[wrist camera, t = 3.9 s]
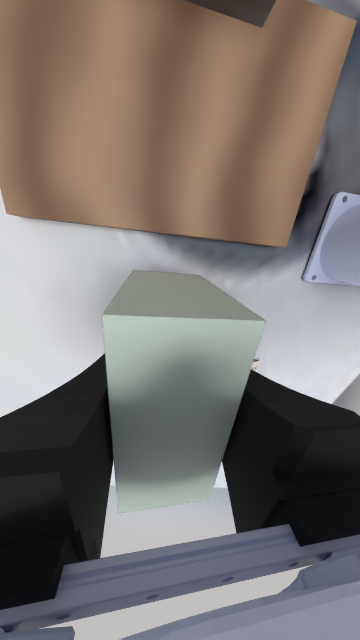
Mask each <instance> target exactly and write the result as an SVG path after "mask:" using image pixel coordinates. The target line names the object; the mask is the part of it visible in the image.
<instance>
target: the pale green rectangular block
mask: <svg viewBox="0 0 360 640" xmlns="http://www.w3.org/2000/svg"><path fill="white" fill-rule="evenodd" d="M102 321H103V333H104V345H105V358H106V370H107V382H108V395H109V407H110V420H111V432H112V444H113V457H114V469H115V481H116V492H117V506H118V513H125V512H132V511H139V510H146V509H153V508H160V507H166V506H173V505H181V504H188V503H194V502H201V501H208V500H209V499H210V496H211V493H212V490H213V487H214V484H215V481H216V477H217V474H218V471H219V468H220V465H221V462H222V459H223V455H224V452H225V449H226V446H227V443H228V440H229V436H230V433H231V430H232V427H233V424H234V421H235V417H236V414H237V411H238V408H239V405H240V402H241V399H242V395H243V392H244V389H245V386H246V383H247V380H248V376H249V373H250V370H251V367H252V364H253V361H254V358H255V354H256V351H257V348H258V345H259V342H260V339H261V335H262V332H263V329H264V326H265V323H266V321H265V320H264V319H263V318H261V317H260V316H258V315H257V314H255V313H254V312H252V311H251V310H249V309H248V308H247V307H245V306H244V305H242V304H241V303H239V302H238V301H236V300H235V299H234V298H232V297H231V296H229V295H228V294H226V293H225V292H223V291H222V290H221V289H219V288H218V287H216V286H215V285H213V284H212V283H210V282H209V281H207V280H206V279H205V278H203V277H202V276H200V275H189V274H177V273H164V272H152V271H139V270H133V272H132V273H131V275H130V276H129V277H128V279H127V280H126V282H125V283H124V284H123V286H122V287H121V289H120V290H119V292H118V293H117V294H116V296H115V297H114V299H113V300H112V301H111V303H110V304H109V306H108V307H107V309H106V310H105V311H104V313H103V314H102Z"/></svg>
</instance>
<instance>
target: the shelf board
mask: <svg viewBox="0 0 360 640" xmlns="http://www.w3.org/2000/svg"><path fill="white" fill-rule="evenodd" d="M356 22H357V21H356V20H354V19H351V18H349V17H346V16H343V15H341V14H338V13H336V12H333V11H331V10H328V9H326V8H323V7H321V6H318V5H316V4H313V3H311V2H308V1H306V0H0V189H1V193H2V197H3V201H4V205H5V209H6V213H7V214H10V215H15V216H20V217H28V218H37V219H45V220H53V221H62V222H70V223H79V224H87V225H95V226H104V227H112V228H121V229H129V230H137V231H146V232H154V233H163V234H171V235H179V236H188V237H196V238H205V239H213V240H221V241H230V242H238V243H247V244H255V245H264V246H272V247H287V243H288V240H289V237H290V234H291V231H292V227H293V224H294V221H295V218H296V215H297V211H298V208H299V205H300V202H301V199H302V195H303V192H304V189H305V186H306V182H307V179H308V176H309V173H310V170H311V166H312V163H313V160H314V157H315V154H316V150H317V147H318V144H319V141H320V138H321V134H322V131H323V128H324V125H325V121H326V118H327V115H328V112H329V109H330V105H331V102H332V99H333V96H334V93H335V89H336V86H337V83H338V80H339V77H340V73H341V70H342V67H343V64H344V60H345V57H346V54H347V51H348V48H349V44H350V41H351V38H352V35H353V32H354V28H355V25H356Z"/></svg>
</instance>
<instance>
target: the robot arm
mask: <svg viewBox="0 0 360 640" xmlns="http://www.w3.org/2000/svg"><path fill="white" fill-rule="evenodd" d="M342 199H343V202H342ZM312 277H313V278H312ZM303 280H304V281H306V282H315V283H327V284H339V285H351V286H360V195H357V194H351V193H346V192H339V193H336V194H335V195H334V196H333V198H332V200H331V203H330V206H329V208H328V211H327V214H326V216H325V219H324V222H323V225H322V227H321V230H320V233H319V235H318V238H317V241H316V244H315V246H314V249H313V252H312V254H311V257H310V260H309V263H308V265H307V268H306V271H305V273H304V276H303ZM113 459H114V457H113V444H112V432H111V420H110V407H109V395H108V382H107V370H106V358H105V354H104V355H102V356H101V357H100V358H99V359H98V360H97V361H96V362H94V363H93V364H92V365H91V366H90V367H88V368H87V369H86V370H84V371H83V372H82V373H80V374H79V375H77V376H76V377H74V378H73V379H71V380H70V381H68V382H67V383H65V384H64V385H62V386H60V387H58V388H57V389H55V390H53V391H52V392H50V393H48V394H46V395H45V396H43V397H41V398H39V399H37V400H35V401H33V402H31V403H29V404H28V405H25V406H23V407H21V408H19V409H17V410H15V411H13V412H11V413H9V414H7V415H5V416H2V417H0V640H74V635H75V632H74V629H73V627H72V626H69V627H57V628H44V629H39V628H43V627H47V626H52V625H56V624H60V623H64V622H69V621H73V620H77V619H82V618H86V617H90V616H95V615H99V614H103V613H107V612H112V611H116V610H120V609H125V608H129V607H133V606H137V605H142V604H146V603H150V602H155V601H159V600H163V599H167V598H172V597H176V596H180V595H184V594H189V593H193V592H197V591H202V590H206V589H210V588H215V587H219V586H223V585H227V584H232V583H236V582H240V581H244V580H249V579H253V578H257V577H261V576H266V575H270V574H274V573H279V572H283V571H287V570H291V569H296V568H300V567H304V566H309V565H312V566H309V567H307V568H305V569H302V570H300V572H299V574H298V576H297V578H296V579H295V580H294V581H293V583H291V585H290V586H289V587H287V588H286V589H284V590H283V591H282V592H280V593H278V594H276V595H271V596H267V597H262V598H258V599H254V600H250V601H247V602H242V603H238V604H235V605H231V606H227V607H223V608H219V609H216V610H212V611H209V612H205V613H202V614H199V615H195V616H191V617H188V618H185V619H181V620H178V621H175V622H171V623H168V624H165V625H162V626H159V627H156V628H153V629H150V630H146V631H144V632H140V633H137V634H134V635H131V636H128V637H125V638H122V639H119V640H360V416H359V415H358V414H356V413H355V412H353V411H350V410H347V409H345V408H341V407H338V406H335V405H332V404H329V403H326V402H323V401H320V400H317V399H314V398H312V397H309V396H307V395H304V394H301V393H299V392H296V391H294V390H292V389H289V388H287V387H285V386H283V385H280V384H278V383H276V382H274V381H272V380H270V379H268V378H266V377H264V376H262V375H261V374H259V373H257V372H255V371H253V370H252V369H251V370H250V373H249V376H248V380H247V383H246V386H245V389H244V392H243V395H242V399H241V402H240V405H239V408H238V411H237V414H236V417H235V421H234V424H233V427H232V430H231V433H230V436H229V440H228V443H227V446H226V449H225V452H224V455H223V459H222V463H223V468H224V472H225V477H226V482H227V486H228V491H229V496H230V501H231V506H232V512H233V517H234V522H235V527H236V534H231V535H226V536H221V537H215V538H209V539H204V540H199V541H193V542H187V543H182V544H176V545H171V546H166V547H160V548H155V549H149V550H144V551H139V552H133V553H127V554H122V555H116V556H111V557H105V558H100V554H101V546H102V538H103V532H104V524H105V516H106V508H107V502H108V494H109V487H110V480H111V473H112V466H113ZM313 564H314V565H313Z"/></svg>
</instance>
